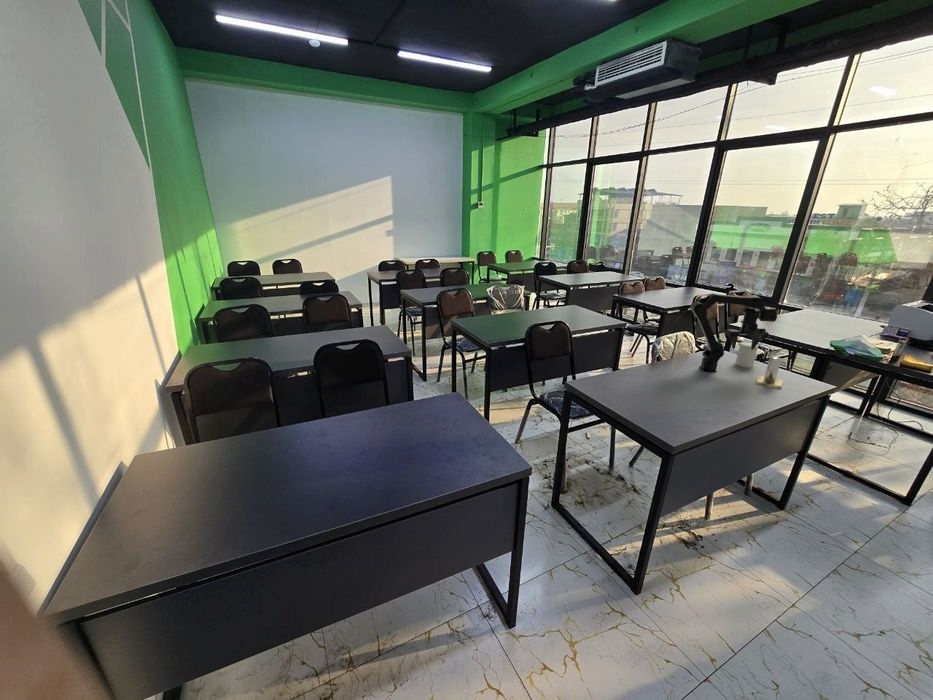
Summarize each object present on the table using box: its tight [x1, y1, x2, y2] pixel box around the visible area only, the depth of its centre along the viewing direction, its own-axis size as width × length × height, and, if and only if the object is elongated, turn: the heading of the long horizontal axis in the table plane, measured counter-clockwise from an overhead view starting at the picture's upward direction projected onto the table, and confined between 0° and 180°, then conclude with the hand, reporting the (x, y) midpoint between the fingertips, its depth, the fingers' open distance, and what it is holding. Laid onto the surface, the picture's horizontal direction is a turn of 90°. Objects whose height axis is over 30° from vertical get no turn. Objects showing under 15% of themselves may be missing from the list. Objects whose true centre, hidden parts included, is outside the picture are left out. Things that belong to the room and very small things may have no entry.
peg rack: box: [755, 375, 784, 390], centre depth 196 cm, size 10×10×5 cm
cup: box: [735, 341, 759, 368], centre depth 219 cm, size 8×8×12 cm
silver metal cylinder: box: [764, 356, 782, 383], centre depth 195 cm, size 5×5×12 cm
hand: (742, 349), depth 206 cm, fingers open, 9 cm apart
